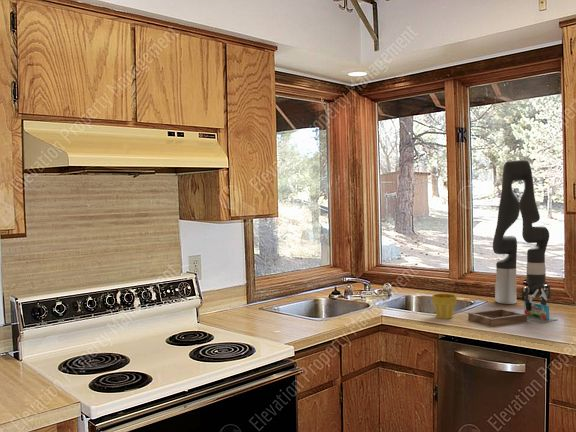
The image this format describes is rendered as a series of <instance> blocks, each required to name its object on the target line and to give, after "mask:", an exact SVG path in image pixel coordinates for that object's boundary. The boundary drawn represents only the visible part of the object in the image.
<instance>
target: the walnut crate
mask: <svg viewBox="0 0 576 432" xmlns="http://www.w3.org/2000/svg"><path fill="white" fill-rule="evenodd" d="M467 317H468V321H471V322H475V323H478V324H481V325H485V326H489V327H499V326H506V325H513V324H519V323H520V324H521V323H527V322H528V319H527V314H524V313H523V312H522V313H521V312H518V311H515V310H514V311H513V310H510V309H505V308H498V309H488V310H481V311H474V312H468V316H467Z"/></svg>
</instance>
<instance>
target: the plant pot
mask: <svg viewBox="0 0 576 432" xmlns="http://www.w3.org/2000/svg"><path fill="white" fill-rule="evenodd" d="M457 299H458V298H457V295H455V294H452V293H444V292H443V293H442V292H441V293H434V294H432V296H431V300H432V303H433V306H434V310H435V314H436V318H438V319H442V320H448V319H452V318H453V315H454V311H455V306H456V304H457Z"/></svg>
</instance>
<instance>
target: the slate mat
mask: <svg viewBox="0 0 576 432" xmlns="http://www.w3.org/2000/svg"><path fill="white" fill-rule="evenodd" d="M528 320H529V321H533V322H538V323H548V322H552V321H559V319H558V318H557V319H556V318H553V317H549V320H542V319H538V318H534V317H530V316H527V321H528Z"/></svg>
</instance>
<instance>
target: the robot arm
mask: <svg viewBox="0 0 576 432" xmlns="http://www.w3.org/2000/svg"><path fill="white" fill-rule="evenodd" d="M517 181H523V184H524V186H523V187H524V189H523V192H522V194H521V198H520V199H519V197H518V196H517V194H515V192H514V190H513V187H512V186H513V182H517ZM500 192H501V193H500V200H499V204H498V213H497V214H498V215H497V222H496V227H495V232H494V236H493V241H492V251H493V252H494V254H496V255H507V256H506V258H504V259H501V260H499V261H498V260H497V261H496V267H495V268H496V271H495V273H496V276H495V277H496V281H495V282H494V296H495V297H494V302H497V303H498V304H504V305H505V304H506V305H510V304H511V305H514V304H517V257H518V256H517V253H518V241H517V240H518V239H517V238H516V236H515V235H505V233H506V232H507V230H509V228H510V227H512V225H514V224H515V222H516V221H517V220H518V218H519V215H520V214H521V218H522V238H523V240H524V241H525V242H526V243H527V244H535V246H534V247H531V248H528V250H527V251H526V259H527V260H526V283H527V287H526V286H522V287H521V301H523V302H526V310H527V311H531V310H532V306H531V302H533V299H535V297H536V298H537V297H539V298H540V304H543V305H547V301H548V299H549V300H550V299H551V285H549V284H546V276H547V275H546V273H547V271H546V260H545V259H546V257H545V255H546V250H547V247H548V243H549V240H550V230H549V229H548V228H547V227H545V226H541V225H540V226H533V224H535V223H538V222H540V219H541V216H540V211H539V209H538V208H539V207H538V205H537V202H536V201H537V200H536V197H535V196H536V195H535V187H534V179H533V172H532V166H531V163H530V162H529V161H528V160H527V159H518V160H517V159H516V160H509V161H508V160H507V161H506V162H505V163H504V165H503V168H502V183H501V191H500Z"/></svg>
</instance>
